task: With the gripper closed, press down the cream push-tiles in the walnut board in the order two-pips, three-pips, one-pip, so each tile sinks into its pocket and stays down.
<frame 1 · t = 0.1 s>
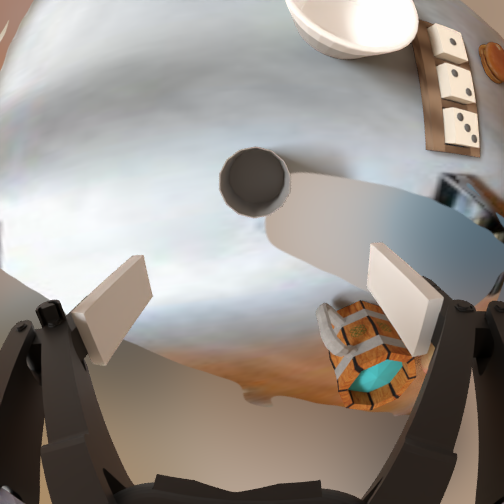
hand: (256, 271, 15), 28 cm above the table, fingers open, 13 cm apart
cup: (256, 176, 41), on the table
tile two: (456, 84, 29), point 4 cm above the table, slide at 0.0 cm
mug: (346, 321, 49), on the table
board: (444, 87, 33), on the table
tile three: (461, 128, 32), point 4 cm above the table, slide at 0.0 cm
bowl: (336, 24, 31), on the table
tile one: (447, 44, 27), point 4 cm above the table, slide at 0.0 cm
burger: (490, 63, 29), on the table
peach: (431, 347, 51), on the table
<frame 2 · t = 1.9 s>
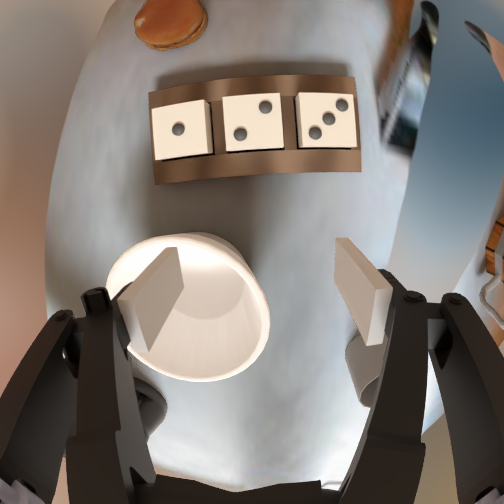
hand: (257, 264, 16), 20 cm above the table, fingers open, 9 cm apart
cup: (367, 348, 42), on the table
tile two: (253, 122, 28), point 4 cm above the table, slide at 0.0 cm
mug: (496, 257, 36), on the table
board: (254, 126, 31), on the table
tile three: (325, 120, 27), point 4 cm above the table, slide at 0.0 cm
bowl: (200, 279, 39), on the table
tile one: (182, 130, 28), point 4 cm above the table, slide at 0.0 cm
burger: (174, 26, 27), on the table
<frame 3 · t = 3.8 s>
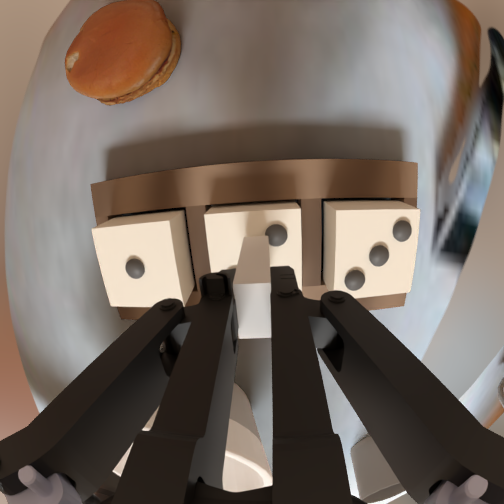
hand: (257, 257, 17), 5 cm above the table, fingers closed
cup: (374, 443, 33), on the table
tile two: (255, 248, 19), point 3 cm above the table, slide at 1.0 cm, touching gripper
board: (256, 237, 22), on the table
tile three: (369, 247, 18), point 4 cm above the table, slide at 0.0 cm
bowl: (192, 402, 29), on the table
tile one: (144, 259, 19), point 4 cm above the table, slide at 0.0 cm
burger: (130, 57, 17), on the table
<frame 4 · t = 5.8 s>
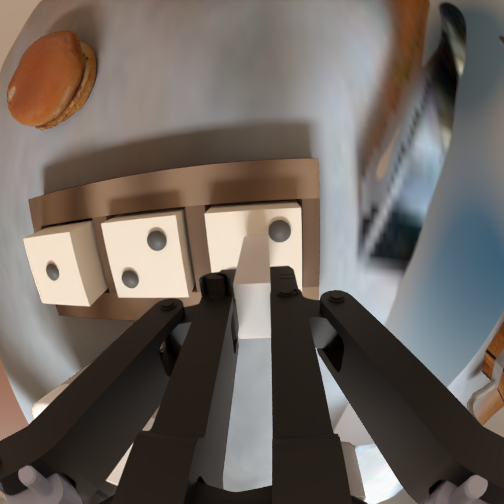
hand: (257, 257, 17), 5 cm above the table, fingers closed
cup: (327, 453, 33), on the table
tile two: (151, 252, 20), point 2 cm above the table, slide at 1.6 cm
mug: (497, 354, 27), on the table
board: (160, 244, 22), on the table
tile three: (256, 247, 19), point 2 cm above the table, slide at 1.3 cm, touching gripper
bowl: (133, 396, 30), on the table
tile one: (64, 263, 19), point 4 cm above the table, slide at 0.0 cm
burger: (61, 83, 18), on the table
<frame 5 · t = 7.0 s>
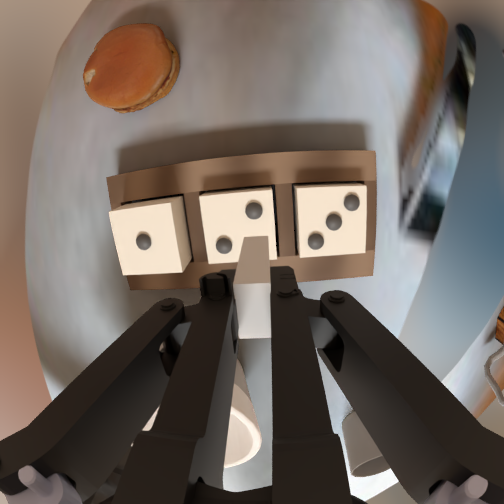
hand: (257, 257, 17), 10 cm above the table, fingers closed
cup: (364, 418, 38), on the table
tile two: (240, 223, 25), point 2 cm above the table, slide at 1.6 cm
board: (242, 218, 27), on the table
tile three: (329, 217, 24), point 2 cm above the table, slide at 1.6 cm
bowl: (192, 370, 34), on the table
tile one: (151, 235, 24), point 4 cm above the table, slide at 0.0 cm
burger: (137, 72, 22), on the table
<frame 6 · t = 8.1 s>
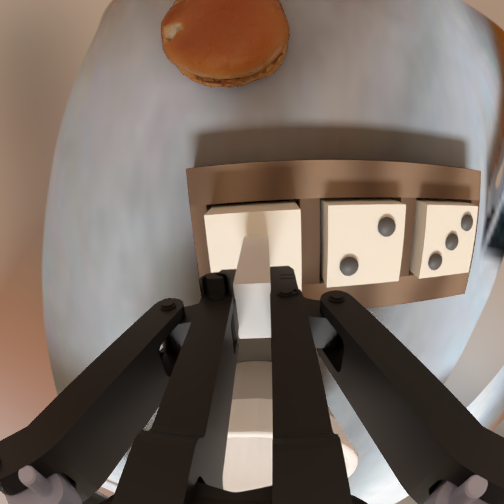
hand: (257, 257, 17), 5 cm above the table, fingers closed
tile two: (360, 239, 20), point 2 cm above the table, slide at 1.6 cm
board: (352, 232, 22), on the table
tile three: (440, 235, 20), point 2 cm above the table, slide at 1.6 cm
bowl: (258, 401, 29), on the table
tile one: (255, 249, 19), point 3 cm above the table, slide at 0.5 cm, touching gripper
burger: (226, 41, 17), on the table
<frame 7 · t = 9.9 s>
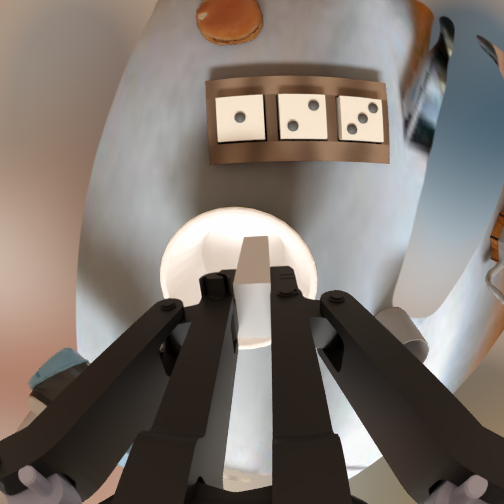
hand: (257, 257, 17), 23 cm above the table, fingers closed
cup: (387, 325, 46), on the table
tile two: (301, 117, 33), point 2 cm above the table, slide at 1.6 cm
mug: (499, 246, 39), on the table
board: (299, 119, 35), on the table
tile three: (358, 119, 32), point 2 cm above the table, slide at 1.6 cm
bowl: (243, 254, 43), on the table
tile one: (241, 119, 34), point 2 cm above the table, slide at 1.6 cm
burger: (230, 23, 30), on the table
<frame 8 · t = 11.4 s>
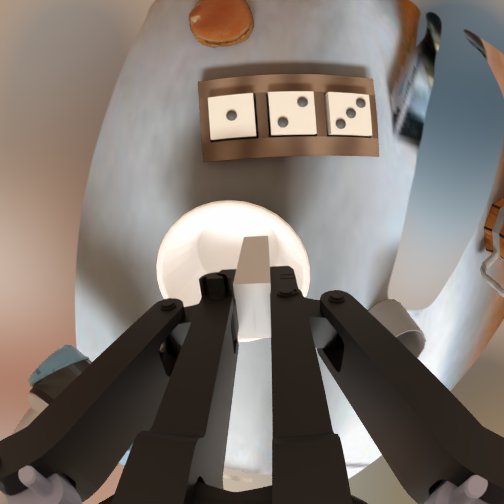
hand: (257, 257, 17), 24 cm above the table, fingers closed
cup: (383, 317, 47), on the table
tile two: (291, 114, 34), point 2 cm above the table, slide at 1.6 cm
mug: (494, 237, 40), on the table
board: (290, 116, 36), on the table
tile three: (347, 114, 34), point 2 cm above the table, slide at 1.6 cm
bowl: (238, 250, 44), on the table
tile one: (232, 117, 35), point 2 cm above the table, slide at 1.6 cm
burger: (222, 26, 31), on the table
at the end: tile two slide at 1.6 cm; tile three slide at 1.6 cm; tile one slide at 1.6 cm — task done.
